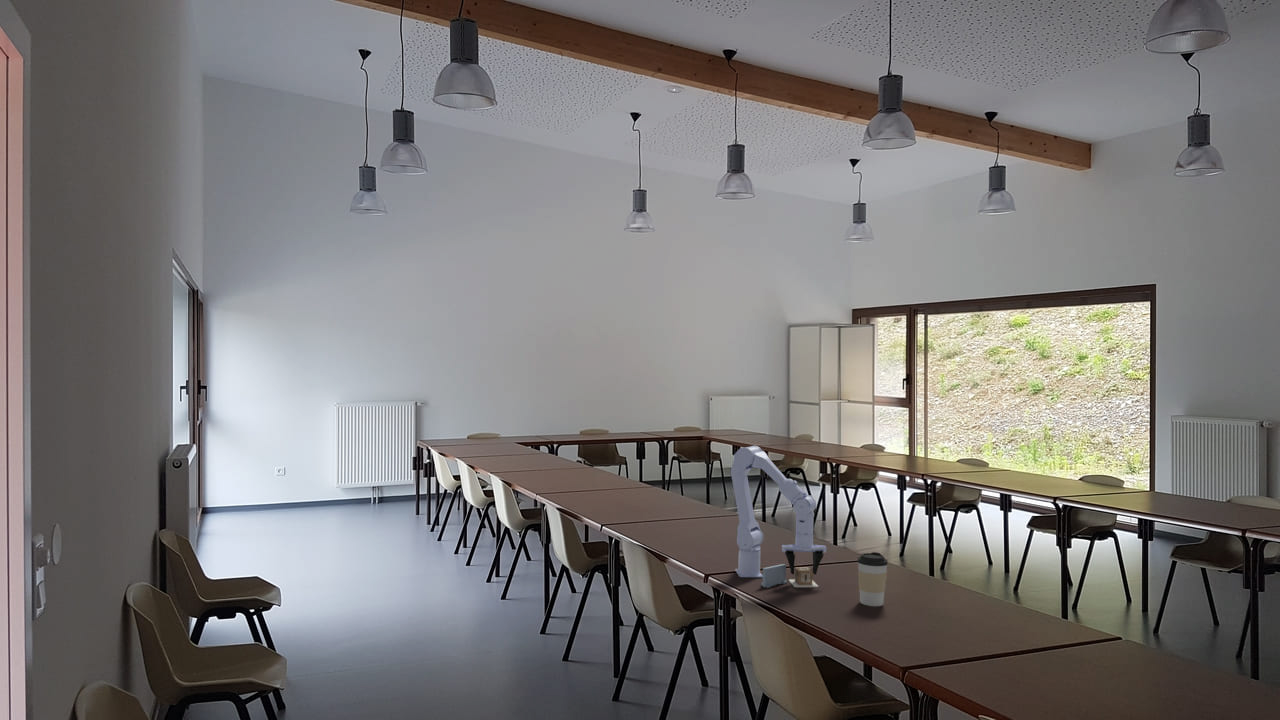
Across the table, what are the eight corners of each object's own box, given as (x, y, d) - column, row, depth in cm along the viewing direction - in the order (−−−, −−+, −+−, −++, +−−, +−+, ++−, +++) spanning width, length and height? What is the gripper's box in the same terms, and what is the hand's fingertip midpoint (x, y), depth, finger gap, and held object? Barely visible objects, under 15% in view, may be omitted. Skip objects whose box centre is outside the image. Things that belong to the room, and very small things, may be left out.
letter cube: (794, 581, 280) (795, 566, 280) (808, 581, 280) (808, 566, 280) (798, 585, 275) (799, 570, 275) (812, 585, 275) (812, 570, 275)
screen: (760, 585, 274) (760, 567, 274) (780, 581, 281) (781, 563, 281) (767, 588, 272) (767, 569, 272) (787, 583, 278) (788, 565, 278)
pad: (788, 580, 282) (788, 579, 282) (811, 580, 282) (812, 579, 282) (794, 587, 274) (794, 585, 274) (818, 587, 274) (818, 586, 274)
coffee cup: (880, 609, 251) (881, 559, 251) (851, 603, 257) (852, 554, 257) (891, 602, 259) (892, 554, 259) (863, 596, 264) (864, 549, 264)
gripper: (785, 535, 273) (784, 576, 273) (829, 535, 274) (828, 576, 274) (780, 530, 280) (779, 571, 280) (823, 531, 281) (822, 571, 281)
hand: (803, 573), depth 278 cm, fingers open, 7 cm apart
